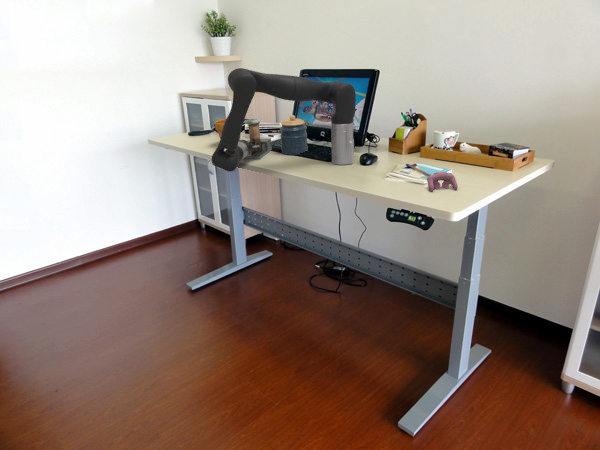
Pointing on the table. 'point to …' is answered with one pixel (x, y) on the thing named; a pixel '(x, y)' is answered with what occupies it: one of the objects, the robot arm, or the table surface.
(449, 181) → the video game controller
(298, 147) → the canister
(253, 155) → the mount
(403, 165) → the table surface
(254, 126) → the brown capped cylinder
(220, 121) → the flower pot
